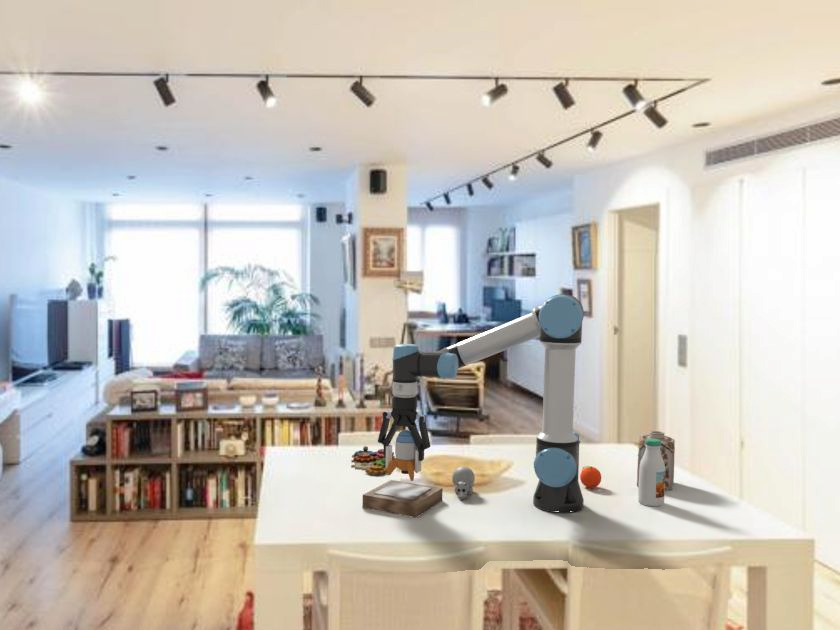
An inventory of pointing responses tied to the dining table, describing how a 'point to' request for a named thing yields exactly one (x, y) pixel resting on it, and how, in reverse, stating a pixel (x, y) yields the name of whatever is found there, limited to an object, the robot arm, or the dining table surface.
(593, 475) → the clementine
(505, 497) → the dining table surface
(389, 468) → the toy rocket
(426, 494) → the plinth
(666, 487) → the decorative jar
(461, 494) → the round bodied animal figurine
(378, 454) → the gear puzzle
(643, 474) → the milk bottle
